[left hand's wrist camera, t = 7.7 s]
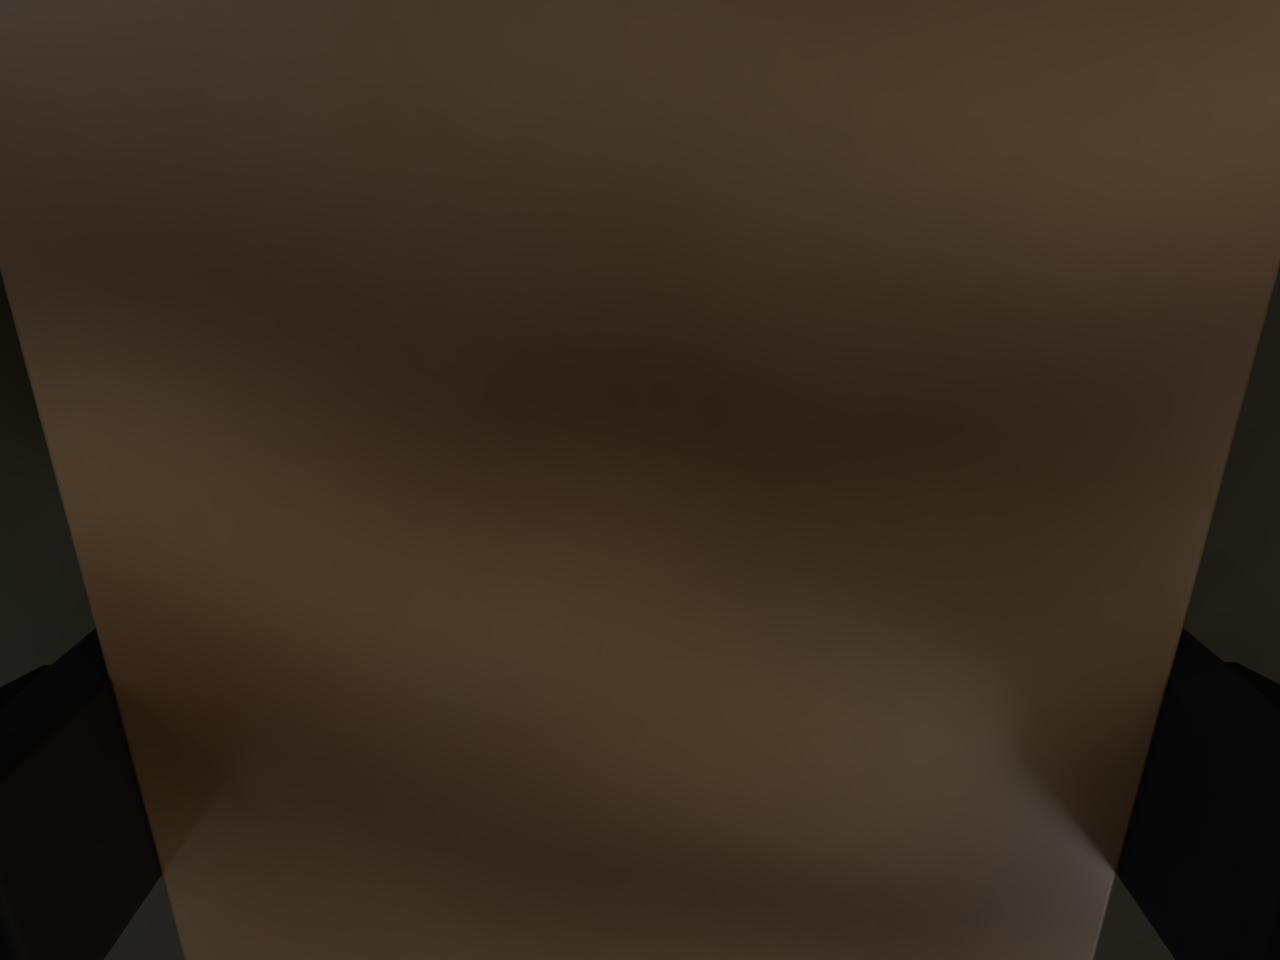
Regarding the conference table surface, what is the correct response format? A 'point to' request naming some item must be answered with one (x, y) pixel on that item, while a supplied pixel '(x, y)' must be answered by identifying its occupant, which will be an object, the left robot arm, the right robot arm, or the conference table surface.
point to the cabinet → (639, 450)
